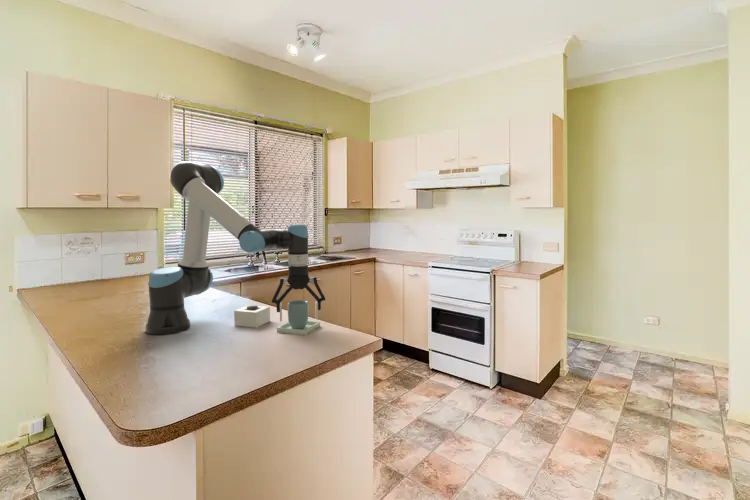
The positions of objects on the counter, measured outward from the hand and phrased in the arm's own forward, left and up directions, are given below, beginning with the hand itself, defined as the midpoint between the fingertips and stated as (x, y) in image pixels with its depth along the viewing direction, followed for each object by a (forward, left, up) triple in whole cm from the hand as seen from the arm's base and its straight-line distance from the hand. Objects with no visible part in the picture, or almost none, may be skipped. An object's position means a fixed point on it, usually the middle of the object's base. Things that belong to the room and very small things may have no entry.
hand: (299, 319), depth 152 cm
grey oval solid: (-22, +2, -3) cm, 22 cm away
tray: (0, 0, -4) cm, 4 cm away
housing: (-22, +2, -4) cm, 22 cm away
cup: (0, 0, -3) cm, 4 cm away
